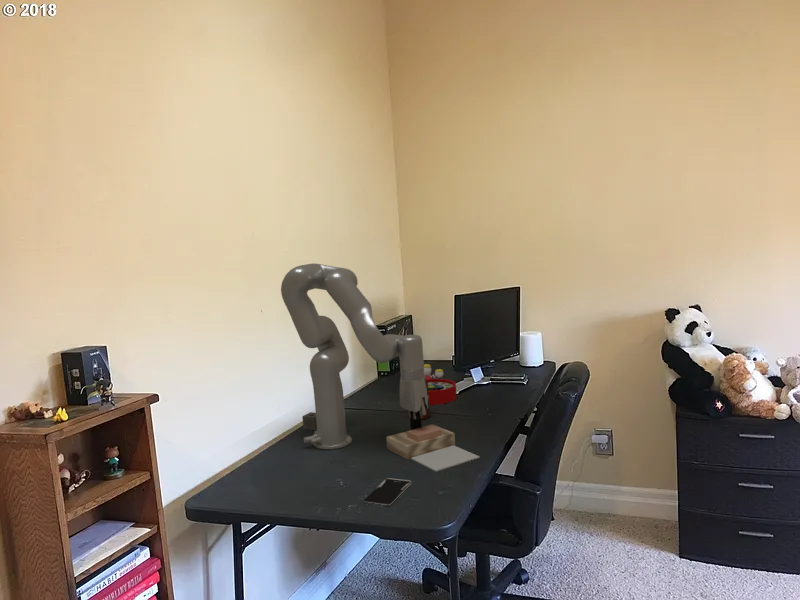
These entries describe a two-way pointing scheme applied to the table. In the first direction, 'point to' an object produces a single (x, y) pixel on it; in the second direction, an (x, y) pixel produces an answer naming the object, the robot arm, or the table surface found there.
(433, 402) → the toy clock
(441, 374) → the toy figures
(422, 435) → the tile
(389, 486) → the smartphone
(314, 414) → the dice cube
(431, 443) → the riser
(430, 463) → the mat
